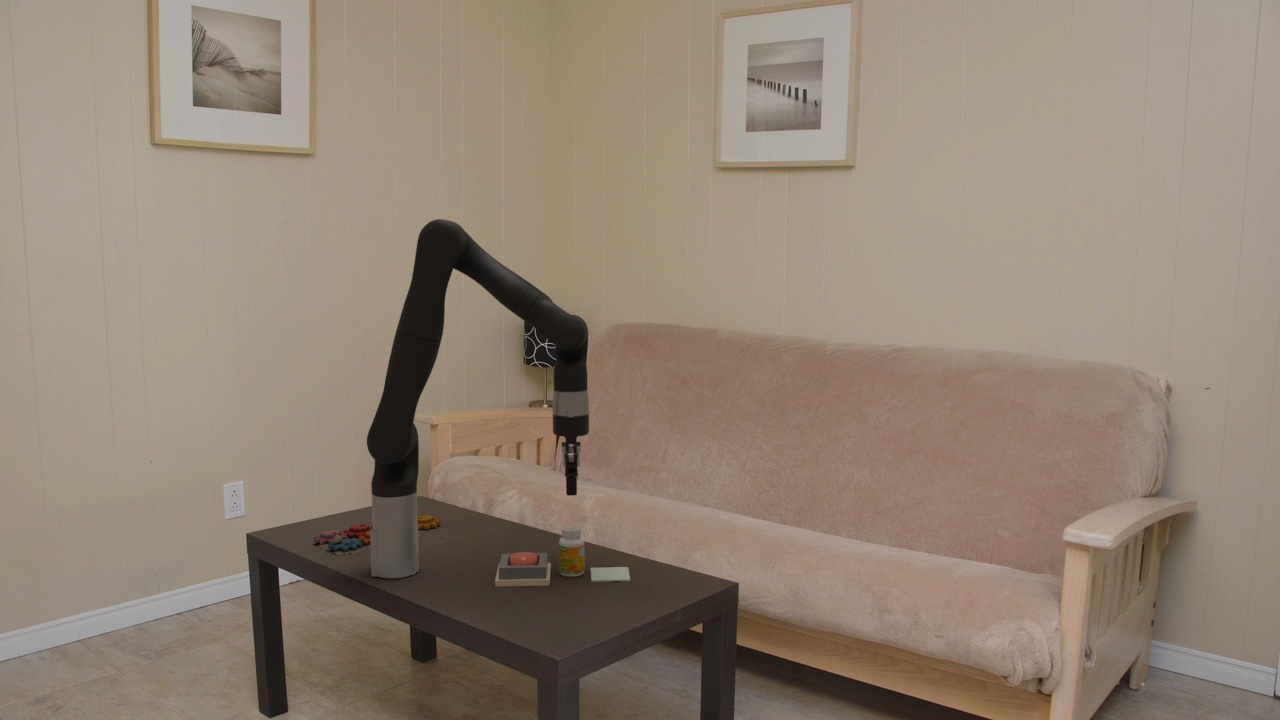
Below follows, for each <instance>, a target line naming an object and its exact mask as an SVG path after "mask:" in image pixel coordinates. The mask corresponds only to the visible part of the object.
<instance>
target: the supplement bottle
mask: <svg viewBox="0 0 1280 720" xmlns="http://www.w3.org/2000/svg"><path fill="white" fill-rule="evenodd" d="M561 529H562V530H561V535H562V537H561V538H559V540H558V573H559V575H561V576H562V577H569V578H571V577H572V578H573V577H580V576H582V575H584V573H585V571H586V570H585V560H586V559H585V539H584V537H581V535H582V528H581V527H580V526H577V525H566V526H563V527H562V528H561Z"/></svg>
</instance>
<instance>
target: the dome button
mask: <svg viewBox="0 0 1280 720" xmlns="http://www.w3.org/2000/svg"><path fill="white" fill-rule="evenodd" d="M535 553H536V552H531V551H519V552H514V553H511V554H512V555H510V566H512V565H537V554H535Z"/></svg>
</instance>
